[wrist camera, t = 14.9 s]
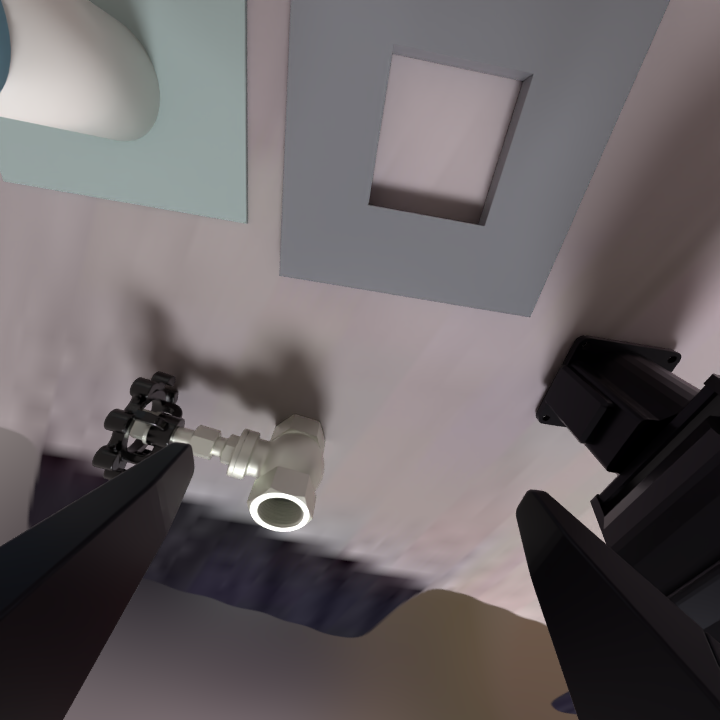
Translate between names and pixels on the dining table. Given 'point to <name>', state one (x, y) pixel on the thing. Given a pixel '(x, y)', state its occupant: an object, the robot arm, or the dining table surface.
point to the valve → (224, 452)
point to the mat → (159, 120)
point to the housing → (517, 159)
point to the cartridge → (75, 70)
